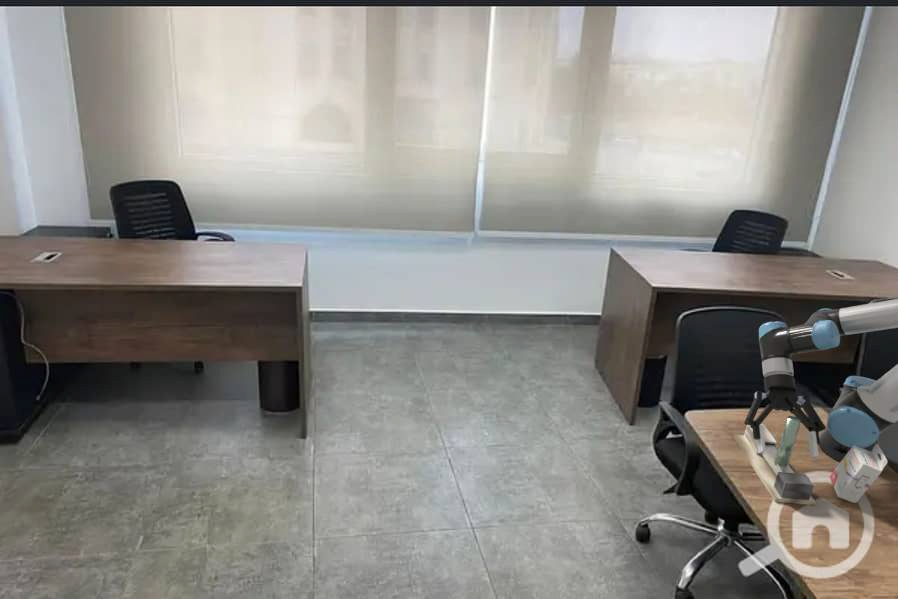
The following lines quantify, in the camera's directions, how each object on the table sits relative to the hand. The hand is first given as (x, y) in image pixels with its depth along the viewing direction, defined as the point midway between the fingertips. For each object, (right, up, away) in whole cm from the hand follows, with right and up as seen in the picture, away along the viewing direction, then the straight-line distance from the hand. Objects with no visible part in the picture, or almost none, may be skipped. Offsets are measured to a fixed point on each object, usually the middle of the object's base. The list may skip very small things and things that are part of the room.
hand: (788, 454), depth 167 cm
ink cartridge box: (+15, -10, +1) cm, 17 cm away
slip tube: (0, -5, +5) cm, 7 cm away
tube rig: (0, -6, +9) cm, 11 cm away
